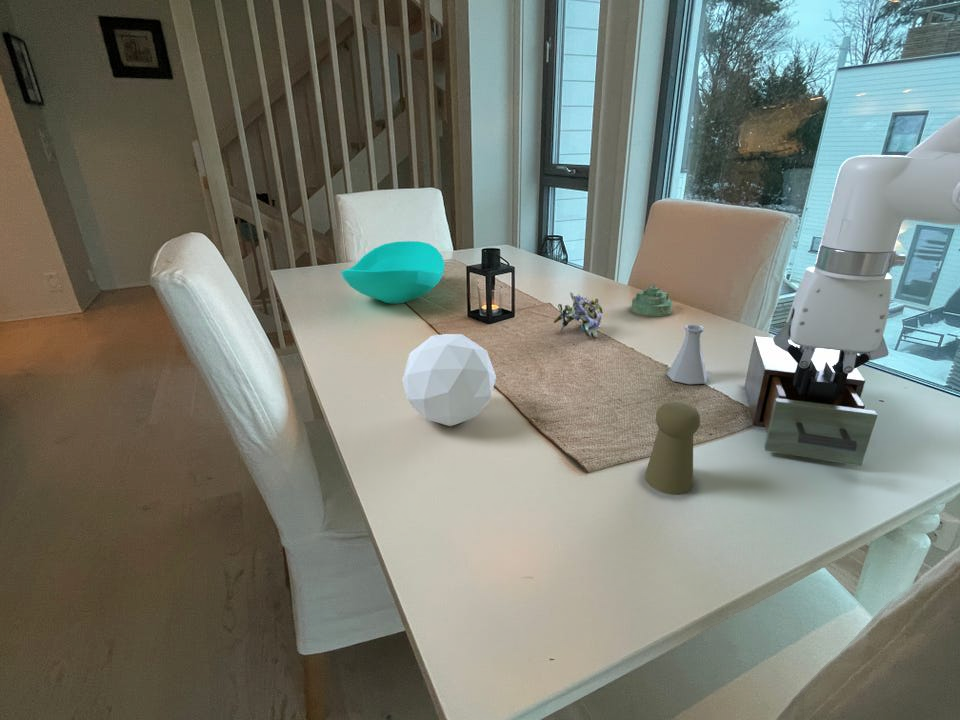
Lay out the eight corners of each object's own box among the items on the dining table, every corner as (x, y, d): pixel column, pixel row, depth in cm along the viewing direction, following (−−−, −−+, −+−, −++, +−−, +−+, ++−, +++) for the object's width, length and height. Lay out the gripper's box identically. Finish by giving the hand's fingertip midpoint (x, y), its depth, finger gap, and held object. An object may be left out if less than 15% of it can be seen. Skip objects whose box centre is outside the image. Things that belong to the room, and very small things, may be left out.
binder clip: (831, 404, 68) (840, 374, 67) (806, 400, 69) (814, 371, 68) (823, 388, 73) (831, 360, 71) (799, 385, 74) (806, 357, 72)
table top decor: (432, 323, 128) (429, 270, 122) (325, 322, 130) (318, 271, 125) (454, 282, 164) (452, 240, 159) (370, 282, 167) (365, 241, 161)
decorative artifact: (630, 314, 130) (671, 317, 127) (633, 288, 127) (675, 290, 124) (632, 303, 139) (671, 306, 136) (634, 278, 136) (674, 280, 133)
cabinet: (847, 439, 75) (865, 380, 72) (752, 425, 80) (764, 369, 76) (825, 396, 88) (839, 344, 84) (744, 386, 92) (754, 336, 88)
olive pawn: (696, 474, 68) (709, 401, 64) (688, 500, 64) (701, 423, 59) (650, 461, 71) (660, 391, 67) (639, 485, 67) (648, 411, 62)
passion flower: (591, 358, 119) (598, 329, 108) (546, 345, 121) (549, 316, 111) (602, 320, 124) (611, 289, 113) (559, 309, 126) (563, 277, 116)
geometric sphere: (442, 433, 89) (439, 350, 93) (515, 424, 81) (510, 334, 85) (383, 428, 78) (383, 333, 81) (461, 416, 70) (458, 312, 73)
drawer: (871, 486, 64) (889, 432, 61) (769, 468, 68) (781, 417, 65) (836, 417, 79) (849, 372, 76) (754, 406, 83) (764, 362, 80)
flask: (668, 384, 93) (675, 332, 90) (664, 368, 100) (671, 319, 96) (710, 387, 92) (719, 335, 88) (704, 370, 98) (712, 321, 94)
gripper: (920, 259, 64) (877, 390, 72) (774, 252, 70) (747, 374, 77) (945, 273, 58) (895, 415, 65) (782, 263, 63) (752, 396, 70)
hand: (815, 392), depth 71 cm, fingers closed on binder clip, 3 cm apart
